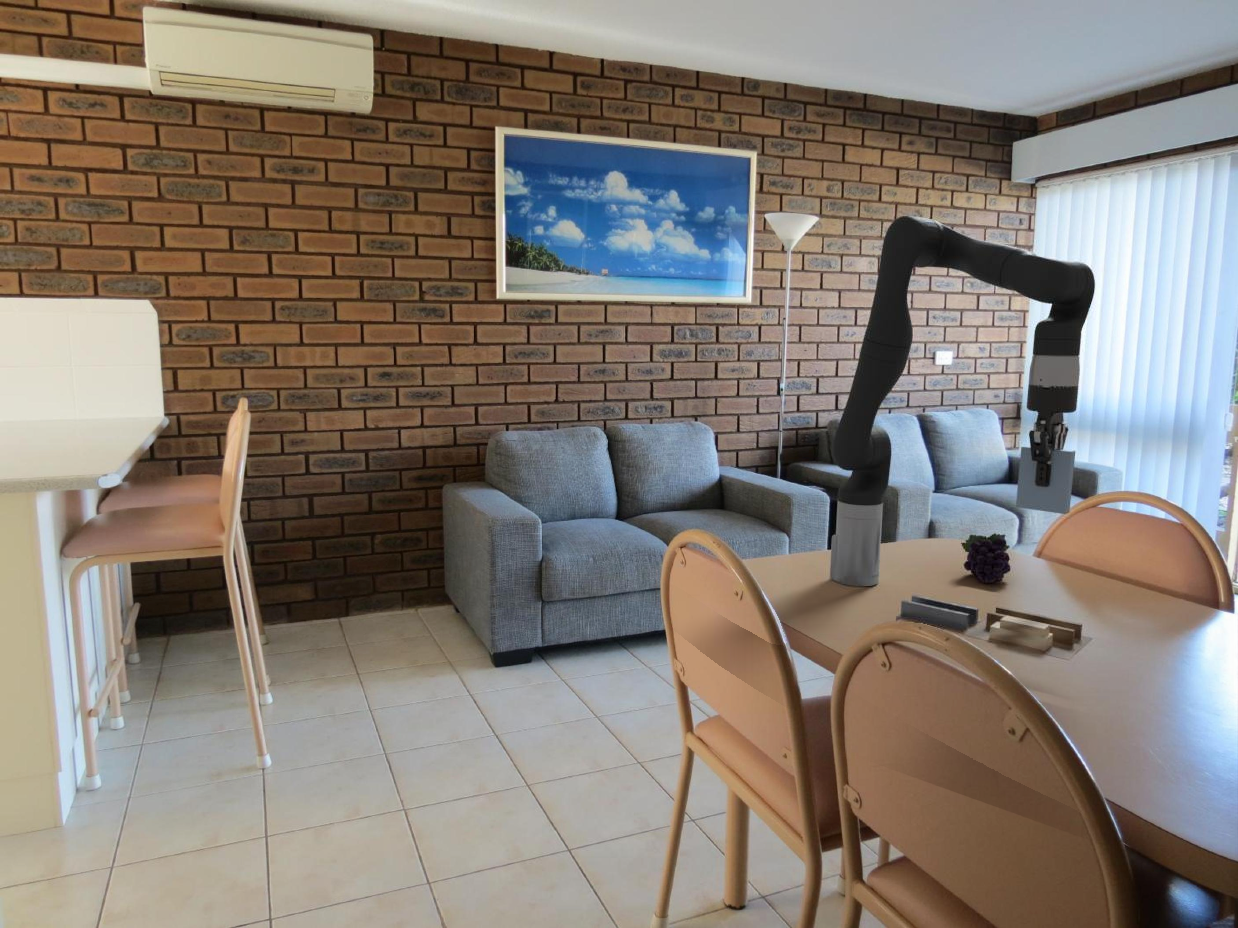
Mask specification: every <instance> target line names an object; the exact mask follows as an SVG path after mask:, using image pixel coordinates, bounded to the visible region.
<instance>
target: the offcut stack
mask: <svg viewBox="0 0 1238 928" xmlns="http://www.w3.org/2000/svg"><path fill="white" fill-rule="evenodd" d="M1049 632H1050V625H1049V624H1044V623H1040V622H1035V621H1030V620H1026V619H1021V618H1016V617H1012V616H1007V615H1006V616H1005V617H1003V618H1002V619H1000V622H998V621H997V622H996V623H994V624H993V625H991V626H990V634H989V638H993V639H998V640H1002V641H1006V642H1010V643H1015V644H1019V645H1023V646H1028V647H1032V648H1036V649H1040V650H1045V651H1046V650H1047V649H1048V648H1049V647H1051V646H1052V640H1053V634H1052V633H1049Z"/></svg>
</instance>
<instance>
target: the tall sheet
mask: <svg viewBox="0 0 1238 928" xmlns="http://www.w3.org/2000/svg"><path fill="white" fill-rule="evenodd" d="M1041 454H1043V455H1044V453H1043V452H1042V451H1041ZM1019 457H1020V458H1019V468H1018V479H1017V489H1016V490H1017V491H1016V502H1015V508H1019V509H1026V510H1034V511H1039V512H1040V511H1041V512H1048V513H1055V514H1062V515H1067V514H1070V509H1071V499H1072V490H1073V489H1072V488H1073V480H1074V469H1075V459H1076V450H1071V449H1064V448H1063V449H1057V450H1056V451H1054V452H1053V463H1052V466H1051V477H1050V485H1049V486H1048V487H1042V486H1036V484H1035V478H1036V466H1037V464H1036V463H1035V461H1032V456H1031V447H1030V445H1023V446H1021V448H1020V456H1019Z"/></svg>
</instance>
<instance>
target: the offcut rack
mask: <svg viewBox="0 0 1238 928" xmlns="http://www.w3.org/2000/svg"><path fill="white" fill-rule="evenodd" d="M1006 615H1007V616H1012V617H1016V618H1021V619H1026V620H1030V621H1035V622H1040V623H1044V624H1049V625H1050V632H1049V633H1052V634H1053V640H1052V646H1051V647H1049V648H1048V649H1047V650H1046V651H1045V650H1040V649H1036V648H1032V647H1028V646H1023V645H1019V644H1015V643H1010V642H1006V641H1002V640H998V639H993V638H989V634H990V626H991V625H993V624H994V623H996V622H997V621H998V622H1000V619H1002V618H1003V617H1005V616H1006ZM1082 631H1083V623H1080V622H1076V621H1070V620H1067V619H1061V618H1056V617H1052V616H1047V615H1042V614H1037V613H1032V612H1028V611H1023V610H1018V609H1013V608H1009V607H1003V606H999V605H997V606H995V612H992V611H988V612H987V613H986V619H984V620H981V622H978V623H976V625H975V626H974V625H973V626H972V627H970V628H969V629H968V630H967V631H966V630H965V631H964V633H963V632H962V633H961V635H962V636H966V637H969V638H975V639H978V640H982V641H986V642H992V643H995V644H999V645H1002V646H1003V645H1004V646H1008V647H1012V648H1016V649H1020V650H1025V651H1027V652H1028V651H1029V652H1033V653H1037V654H1041V655H1046V656H1049V657H1050V656H1051V657H1054V658H1057V659H1062V660H1067V661H1070V660H1071V659H1072V658H1073V657H1075V655H1077V653H1078V652H1079V651H1081V650H1082V649H1083V648H1084V647H1085V646H1086V645H1087V644H1088V643H1090V641H1092V640H1093V638H1094V637H1089V636H1086V635H1082V634H1083V633H1082Z"/></svg>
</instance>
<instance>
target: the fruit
mask: <svg viewBox="0 0 1238 928" xmlns="http://www.w3.org/2000/svg"><path fill="white" fill-rule="evenodd" d="M1005 537H1006V534H1000V533H998V534H997V533H996V532H995V533H993V534H991V535H990V536H988V537H987V536H986V535H976V534H969V537H968V539H965V540H964V541H965V542H960V544H961V548H963V550H964V552H966V553H967V555H966V561H965V562H964V563H963V568H964V569H965V570H966V571H967V572H969V571H970V574H972V575H973V576H976V577H977V578H978V579H979V581H981V583H983V584H990V583H991V584H993V583H994V582H995V581H999V580H1003V579H1004V577H1005V575H1006V574H1008V573H1010V571H1011V565H1010V563H1009V561H1010V560H1011V559H1010V555H1009V553H1008V552H1007V550H1008V549H1009V548H1010V545H1007V540H1006V538H1005Z"/></svg>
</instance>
